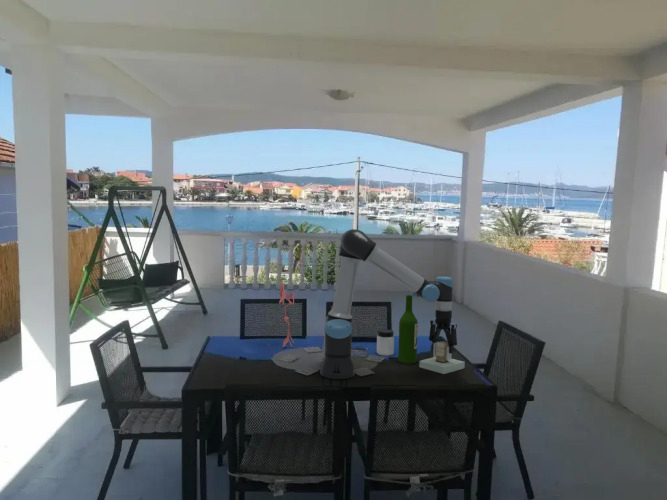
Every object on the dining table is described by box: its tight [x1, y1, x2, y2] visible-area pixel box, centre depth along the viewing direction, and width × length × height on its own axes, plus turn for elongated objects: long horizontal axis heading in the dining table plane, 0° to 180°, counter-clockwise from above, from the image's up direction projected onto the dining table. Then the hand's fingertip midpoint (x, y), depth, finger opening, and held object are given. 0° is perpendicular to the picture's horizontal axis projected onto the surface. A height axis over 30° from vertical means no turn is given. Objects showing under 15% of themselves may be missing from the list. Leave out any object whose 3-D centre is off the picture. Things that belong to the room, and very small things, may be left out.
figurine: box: [267, 281, 296, 350], centre depth 266 cm, size 15×26×35 cm, turn 0°
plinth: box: [418, 356, 466, 375], centre depth 230 cm, size 16×14×3 cm
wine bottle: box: [397, 294, 419, 365], centre depth 239 cm, size 9×9×32 cm
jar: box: [376, 328, 395, 357], centre depth 253 cm, size 9×8×12 cm
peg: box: [436, 341, 448, 363], centre depth 230 cm, size 4×4×12 cm
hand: (442, 358), depth 230 cm, fingers open, 7 cm apart
